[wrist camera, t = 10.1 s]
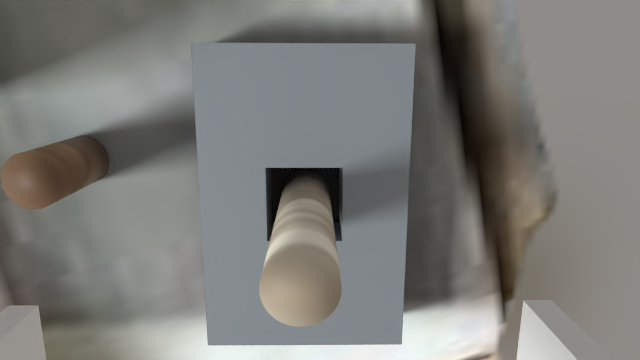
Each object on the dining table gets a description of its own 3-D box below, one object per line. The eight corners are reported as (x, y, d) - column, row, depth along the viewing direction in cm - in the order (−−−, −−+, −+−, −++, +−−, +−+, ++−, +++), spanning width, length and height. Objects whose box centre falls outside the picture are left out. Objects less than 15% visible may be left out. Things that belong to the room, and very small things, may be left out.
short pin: (58, 136, 30) (-4, 152, 24) (106, 136, 30) (56, 152, 24) (64, 182, 31) (5, 209, 25) (110, 182, 31) (63, 209, 25)
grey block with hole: (205, 45, 29) (190, 42, 25) (403, 46, 29) (415, 43, 26) (218, 316, 33) (208, 345, 29) (392, 315, 33) (401, 344, 30)
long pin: (283, 169, 31) (258, 250, 17) (329, 170, 31) (342, 251, 17) (282, 213, 31) (259, 326, 18) (328, 214, 31) (340, 327, 18)
